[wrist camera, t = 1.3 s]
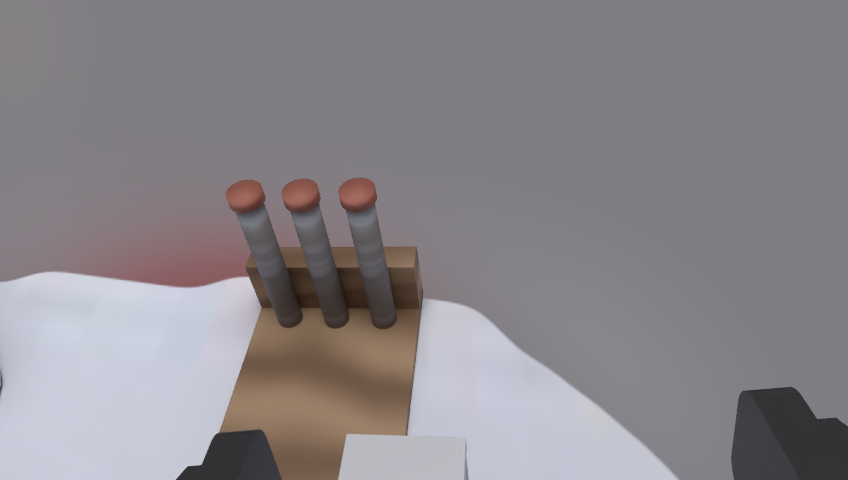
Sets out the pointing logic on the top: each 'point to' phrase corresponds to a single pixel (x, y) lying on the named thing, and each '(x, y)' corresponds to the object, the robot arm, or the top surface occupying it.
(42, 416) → the top surface
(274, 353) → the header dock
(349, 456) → the plug block
